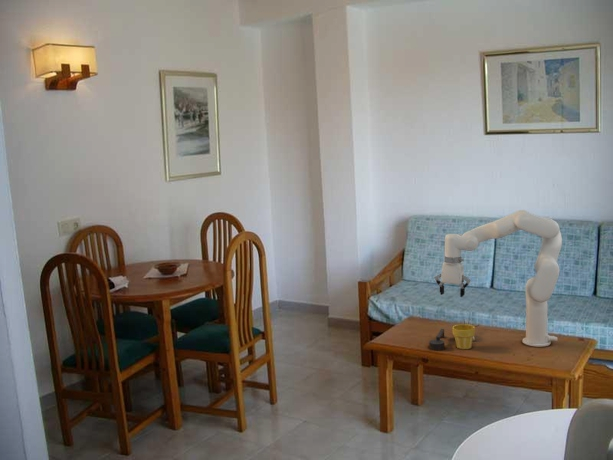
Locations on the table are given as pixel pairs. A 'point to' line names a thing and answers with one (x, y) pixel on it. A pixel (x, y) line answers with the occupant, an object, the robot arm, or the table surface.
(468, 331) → the flower pot
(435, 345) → the ladle
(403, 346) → the table surface
